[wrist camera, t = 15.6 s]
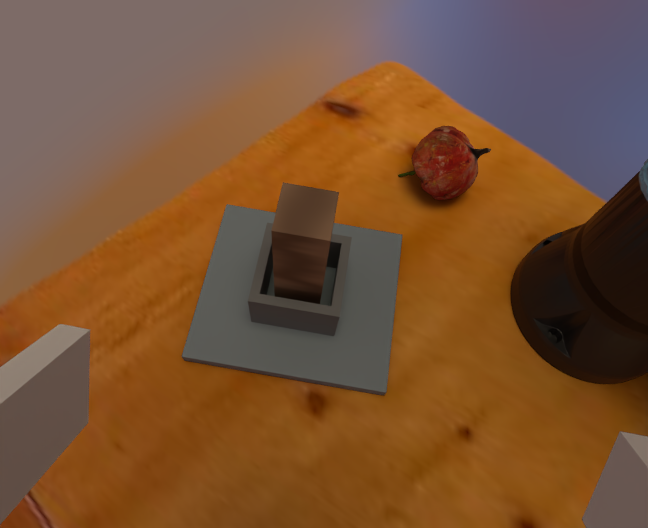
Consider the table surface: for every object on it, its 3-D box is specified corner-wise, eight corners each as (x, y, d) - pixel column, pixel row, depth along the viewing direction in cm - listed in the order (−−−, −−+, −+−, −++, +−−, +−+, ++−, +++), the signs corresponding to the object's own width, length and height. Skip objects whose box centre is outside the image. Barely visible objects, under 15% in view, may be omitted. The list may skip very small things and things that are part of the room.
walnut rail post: (324, 276, 48) (338, 192, 35) (318, 314, 46) (330, 240, 33) (283, 268, 48) (283, 182, 35) (275, 307, 46) (271, 230, 33)
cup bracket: (399, 240, 51) (413, 207, 46) (383, 395, 44) (397, 378, 39) (228, 210, 52) (221, 174, 46) (184, 360, 44) (169, 338, 39)
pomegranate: (403, 220, 55) (494, 207, 49) (375, 172, 51) (471, 152, 45) (417, 174, 59) (503, 157, 53) (392, 125, 55) (483, 101, 49)
